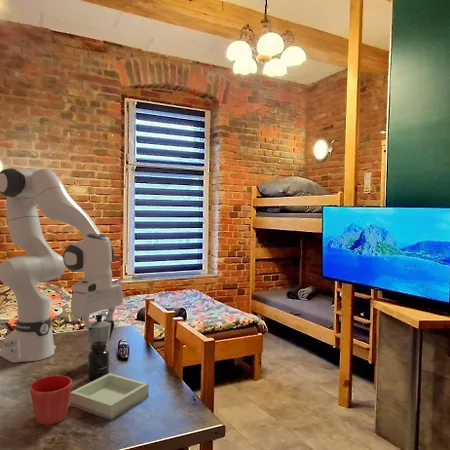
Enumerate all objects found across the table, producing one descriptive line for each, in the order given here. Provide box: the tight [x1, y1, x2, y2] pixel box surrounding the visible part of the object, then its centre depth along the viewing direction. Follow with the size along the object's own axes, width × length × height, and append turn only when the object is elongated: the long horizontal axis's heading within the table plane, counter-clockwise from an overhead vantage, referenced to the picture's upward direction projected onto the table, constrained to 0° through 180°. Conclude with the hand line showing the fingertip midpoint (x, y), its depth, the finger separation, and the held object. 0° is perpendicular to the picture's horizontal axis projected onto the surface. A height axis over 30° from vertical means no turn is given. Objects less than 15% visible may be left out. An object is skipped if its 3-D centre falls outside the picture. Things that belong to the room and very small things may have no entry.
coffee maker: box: [86, 313, 116, 365], centre depth 155 cm, size 15×9×18 cm, turn 158°
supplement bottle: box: [87, 341, 110, 382], centre depth 141 cm, size 7×7×12 cm
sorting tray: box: [69, 372, 150, 421], centre depth 125 cm, size 16×16×4 cm
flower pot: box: [29, 374, 73, 426], centre depth 115 cm, size 11×11×10 cm
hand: (98, 323), depth 140 cm, fingers open, 8 cm apart
